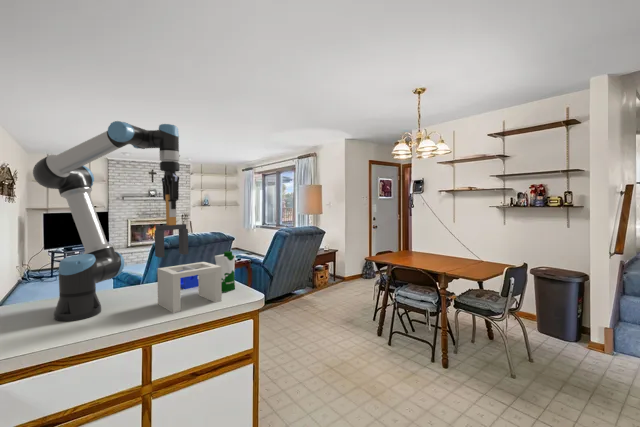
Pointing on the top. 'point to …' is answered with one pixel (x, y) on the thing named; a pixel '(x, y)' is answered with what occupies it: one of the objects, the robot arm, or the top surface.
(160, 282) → the light grey open-top stand
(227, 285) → the milk carton
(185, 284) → the bracket
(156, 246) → the wooden handle u-frame
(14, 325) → the top surface
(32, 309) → the top surface
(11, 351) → the top surface
